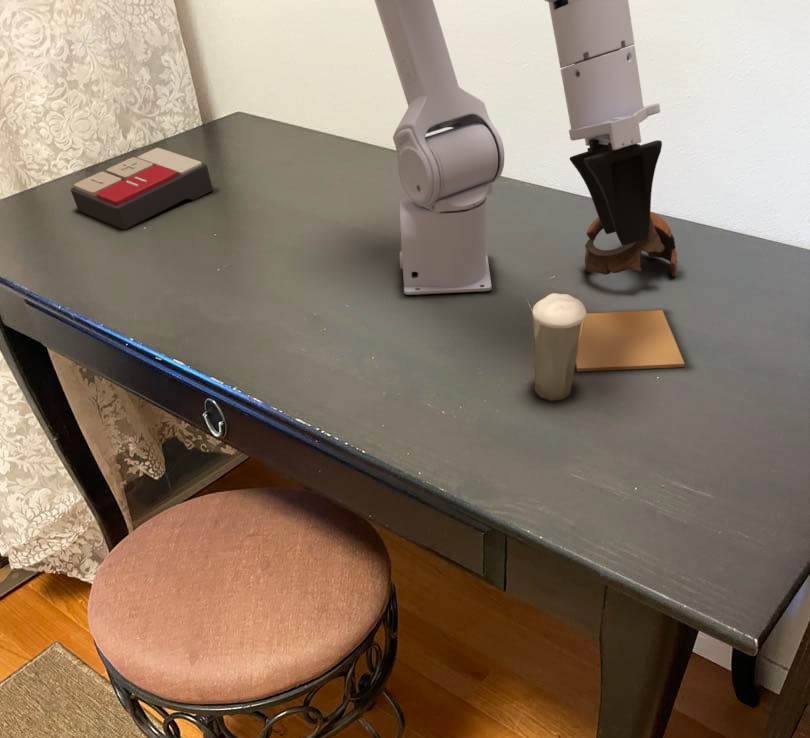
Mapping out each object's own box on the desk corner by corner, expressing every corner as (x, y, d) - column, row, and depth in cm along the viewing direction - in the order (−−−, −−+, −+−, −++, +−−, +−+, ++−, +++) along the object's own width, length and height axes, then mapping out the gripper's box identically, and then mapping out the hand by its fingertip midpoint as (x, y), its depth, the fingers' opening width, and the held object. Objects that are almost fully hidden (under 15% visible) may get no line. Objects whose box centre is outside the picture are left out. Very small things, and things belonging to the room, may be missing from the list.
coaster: (576, 371, 80) (577, 368, 80) (563, 317, 87) (563, 314, 87) (684, 367, 79) (684, 363, 79) (661, 313, 86) (662, 309, 86)
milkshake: (515, 380, 79) (519, 281, 72) (571, 374, 79) (581, 275, 72) (524, 408, 76) (529, 307, 69) (583, 402, 76) (594, 301, 69)
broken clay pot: (688, 294, 90) (666, 238, 84) (603, 324, 94) (575, 274, 88) (676, 218, 96) (654, 162, 90) (596, 251, 100) (570, 199, 94)
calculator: (66, 183, 111) (157, 142, 118) (78, 214, 114) (166, 172, 122) (114, 202, 106) (206, 158, 113) (125, 235, 109) (214, 189, 116)
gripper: (671, 32, 58) (696, 232, 64) (630, 48, 71) (655, 213, 77) (569, 64, 59) (603, 258, 65) (548, 74, 72) (578, 235, 78)
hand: (625, 236), depth 71 cm, fingers open, 7 cm apart
